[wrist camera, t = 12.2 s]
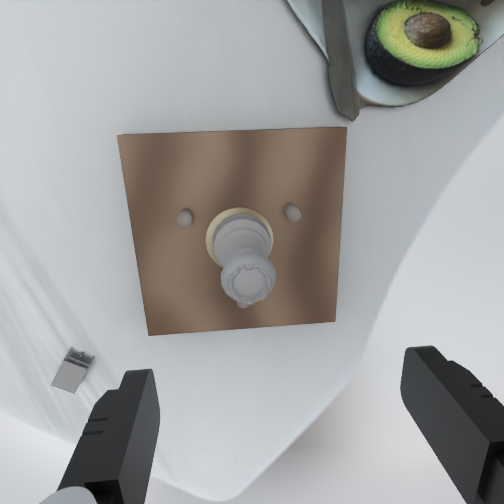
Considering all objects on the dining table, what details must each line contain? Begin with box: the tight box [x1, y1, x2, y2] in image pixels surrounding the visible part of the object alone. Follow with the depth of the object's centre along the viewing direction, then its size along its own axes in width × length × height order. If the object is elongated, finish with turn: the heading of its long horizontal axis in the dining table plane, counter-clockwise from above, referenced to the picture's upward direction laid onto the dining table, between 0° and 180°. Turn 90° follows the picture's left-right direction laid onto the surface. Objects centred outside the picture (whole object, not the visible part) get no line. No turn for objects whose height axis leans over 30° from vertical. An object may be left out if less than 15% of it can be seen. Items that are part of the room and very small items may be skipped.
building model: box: [51, 348, 94, 394], centre depth 31 cm, size 2×3×2 cm
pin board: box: [117, 127, 347, 336], centre depth 28 cm, size 16×16×3 cm
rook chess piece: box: [212, 213, 276, 305], centre depth 24 cm, size 4×4×8 cm
